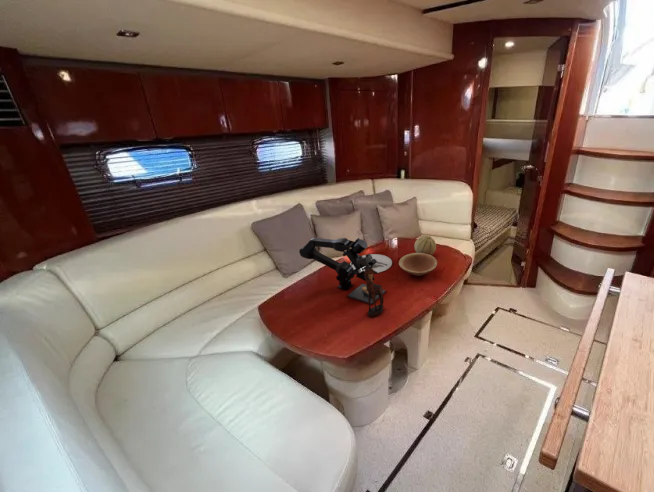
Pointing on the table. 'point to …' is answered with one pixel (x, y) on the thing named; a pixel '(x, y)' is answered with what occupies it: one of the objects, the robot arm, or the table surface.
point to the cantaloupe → (425, 245)
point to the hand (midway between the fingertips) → (371, 281)
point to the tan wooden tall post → (365, 287)
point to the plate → (379, 263)
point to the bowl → (418, 263)
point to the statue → (373, 292)
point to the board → (363, 295)
